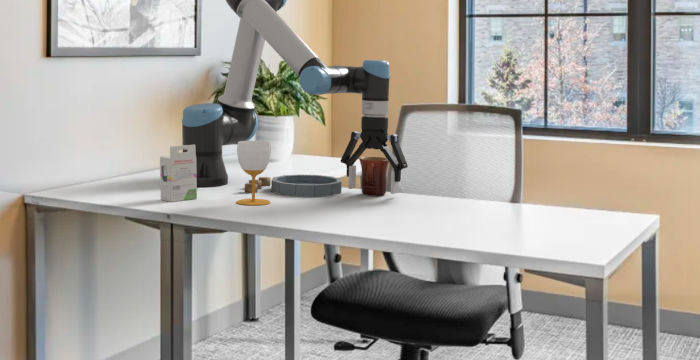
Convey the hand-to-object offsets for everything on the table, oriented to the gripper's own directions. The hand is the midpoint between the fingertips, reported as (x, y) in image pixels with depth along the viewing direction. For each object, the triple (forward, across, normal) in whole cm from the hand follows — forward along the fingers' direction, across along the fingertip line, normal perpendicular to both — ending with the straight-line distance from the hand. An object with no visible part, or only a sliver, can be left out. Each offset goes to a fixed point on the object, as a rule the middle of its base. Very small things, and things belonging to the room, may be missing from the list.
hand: (372, 190), depth 250 cm
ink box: (+2, -38, -39) cm, 54 cm away
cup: (+1, -19, -30) cm, 36 cm away
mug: (+1, 0, 0) cm, 1 cm away
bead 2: (+1, -33, -11) cm, 35 cm away
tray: (+1, -19, -5) cm, 20 cm away
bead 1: (+1, -30, -17) cm, 35 cm away
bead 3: (+1, -34, -5) cm, 34 cm away
